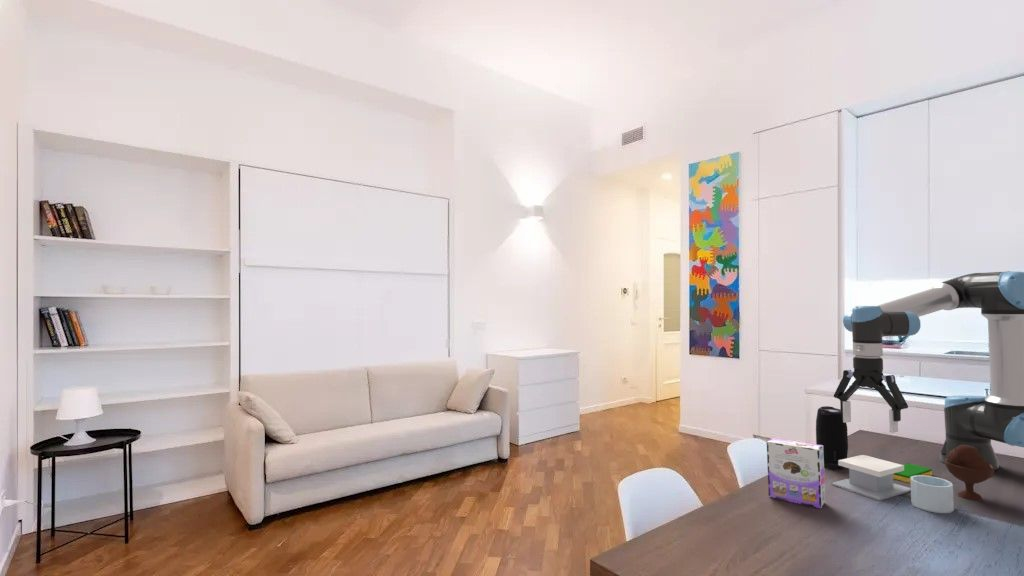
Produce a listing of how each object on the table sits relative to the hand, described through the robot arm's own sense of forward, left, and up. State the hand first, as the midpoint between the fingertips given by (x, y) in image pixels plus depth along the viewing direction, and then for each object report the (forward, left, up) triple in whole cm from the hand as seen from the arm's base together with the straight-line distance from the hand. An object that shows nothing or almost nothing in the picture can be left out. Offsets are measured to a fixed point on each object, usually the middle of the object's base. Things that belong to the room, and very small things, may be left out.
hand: (869, 426), depth 158 cm
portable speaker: (-9, -18, -19) cm, 28 cm away
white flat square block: (0, 0, -12) cm, 12 cm away
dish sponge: (-21, -1, -19) cm, 28 cm away
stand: (0, 0, -18) cm, 18 cm away
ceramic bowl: (0, +16, -18) cm, 24 cm away
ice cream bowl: (-17, +17, -19) cm, 30 cm away
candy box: (+28, -4, -19) cm, 34 cm away
